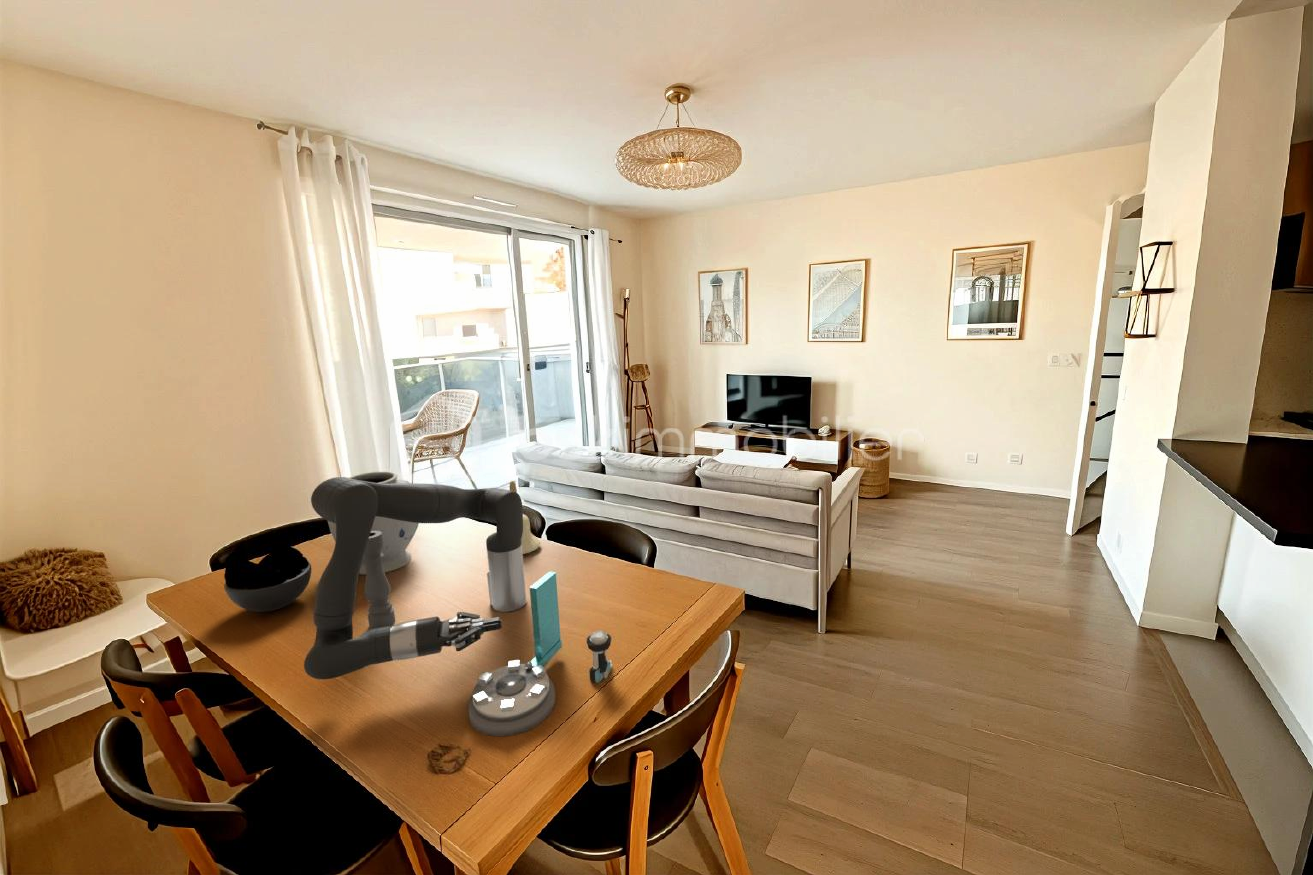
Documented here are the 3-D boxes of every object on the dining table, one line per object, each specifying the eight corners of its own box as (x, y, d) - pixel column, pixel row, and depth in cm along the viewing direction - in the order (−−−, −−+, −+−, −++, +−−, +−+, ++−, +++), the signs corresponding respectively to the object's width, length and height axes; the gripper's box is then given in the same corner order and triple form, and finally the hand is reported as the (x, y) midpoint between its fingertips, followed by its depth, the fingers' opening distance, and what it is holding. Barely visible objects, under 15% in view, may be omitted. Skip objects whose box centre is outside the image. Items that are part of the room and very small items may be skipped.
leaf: (450, 781, 92) (451, 772, 92) (420, 766, 95) (420, 757, 94) (476, 756, 98) (477, 748, 98) (447, 743, 101) (447, 735, 100)
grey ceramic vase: (442, 557, 183) (432, 472, 177) (365, 590, 161) (351, 494, 155) (396, 542, 197) (385, 463, 191) (319, 571, 175) (304, 482, 169)
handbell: (534, 559, 179) (529, 487, 174) (489, 560, 180) (482, 488, 175) (544, 540, 194) (539, 474, 189) (503, 541, 195) (496, 475, 190)
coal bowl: (332, 597, 157) (321, 536, 154) (258, 632, 140) (245, 565, 136) (289, 585, 166) (278, 527, 162) (215, 617, 148) (201, 553, 144)
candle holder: (400, 619, 144) (388, 531, 139) (382, 631, 138) (368, 540, 133) (382, 616, 146) (370, 529, 141) (363, 628, 140) (349, 538, 135)
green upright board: (521, 729, 100) (513, 638, 96) (456, 711, 105) (446, 624, 101) (586, 652, 123) (582, 576, 119) (531, 640, 128) (524, 567, 125)
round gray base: (450, 716, 107) (449, 707, 107) (514, 669, 121) (513, 661, 121) (511, 748, 98) (510, 739, 98) (572, 694, 112) (571, 686, 112)
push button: (602, 662, 123) (600, 623, 121) (621, 670, 120) (619, 629, 118) (583, 679, 117) (581, 637, 115) (603, 687, 114) (600, 644, 112)
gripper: (410, 639, 107) (501, 622, 112) (417, 607, 119) (498, 593, 125) (415, 672, 109) (504, 654, 114) (421, 637, 121) (501, 622, 126)
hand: (501, 622), depth 119 cm, fingers closed
